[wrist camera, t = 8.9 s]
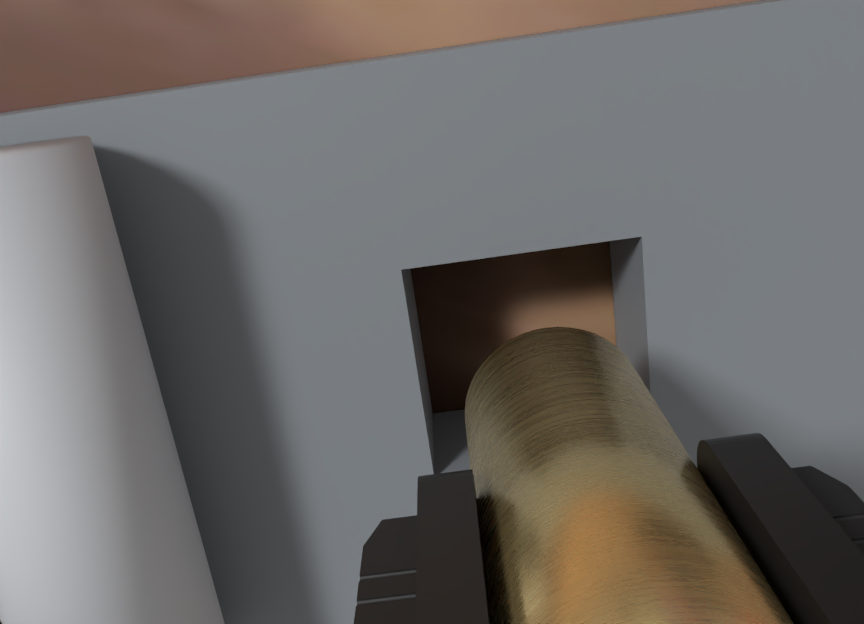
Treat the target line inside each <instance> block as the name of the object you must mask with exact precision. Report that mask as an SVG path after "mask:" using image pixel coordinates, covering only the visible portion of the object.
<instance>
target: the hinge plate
mask: <svg viewBox="0 0 864 624" xmlns="http://www.w3.org/2000/svg"><path fill="white" fill-rule="evenodd" d="M606 241H609V243H610V257H611V272H612V286H613V301H614V315H615V329H616V344H617V348H618V349H620V350H621V351H622V352H623V353H624V354H625V356H626V357H627V358H628V359H629V360H630V362H631V363H632V365H633V366H634V368H635V370H636V371H637V373H638V374H639V376H640V378H641V379H642V381H643V382H644V384H645V386H646V387H647V389H648V390H649V392H650V394H651V395H652V397H653V398H654V400H655V402H656V403H657V405H658V406H659V408H660V410H661V411H662V413H663V414H664V416H665V418H666V419H667V421H668V422H669V424H670V426H671V427H672V429H673V430H674V432H675V434H676V435H677V437H678V438H679V440H680V442H681V443H682V445H683V446H684V448H685V450H686V451H687V453H688V454H689V456H690V458H691V459H692V461H693V463H694V464H695V466H696V467H697V448H698V444H699V442H700V441H701V440H705V439H713V438H721V437H729V436H736V435H744V434H752V433H760V434H762V435H763V436H764V437H765V438H766V439H767V440H768V441H769V442H770V444H771V445H772V446H773V447H774V448H775V450H776V451H777V452H778V453H779V454H780V456H781V457H782V458H783V459H784V460H785V461H786V463H787V464H788V465H789V466H790V467H791V468H796V467H804V466H812V467H814V468H816V469H818V470H820V471H822V472H824V473H826V474H827V475H829V476H831V477H833V478H835V479H837V480H839V481H841V482H842V483H844V484H846V485H848V486H849V487H850V488H851V489H852V490H853V491H854V492H855V493H856V494H857V495H858V497H859V498H860V499H861V500H862V501H863V502H864V0H761V1H754V2H747V3H741V4H734V5H727V6H720V7H714V8H707V9H700V10H693V11H687V12H680V13H673V14H666V15H659V16H653V17H646V18H639V19H632V20H626V21H619V22H612V23H605V24H599V25H592V26H585V27H578V28H572V29H565V30H558V31H551V32H545V33H538V34H531V35H524V36H518V37H511V38H504V39H497V40H490V41H484V42H477V43H470V44H463V45H457V46H450V47H443V48H436V49H430V50H423V51H416V52H409V53H403V54H396V55H389V56H382V57H376V58H369V59H362V60H355V61H349V62H342V63H335V64H328V65H321V66H315V67H308V68H301V69H294V70H288V71H281V72H274V73H267V74H261V75H254V76H247V77H240V78H234V79H227V80H220V81H213V82H207V83H200V84H193V85H186V86H180V87H173V88H166V89H159V90H152V91H146V92H139V93H132V94H125V95H119V96H112V97H105V98H98V99H92V100H85V101H78V102H71V103H65V104H58V105H51V106H44V107H38V108H31V109H24V110H17V111H11V112H4V113H0V620H1V623H2V624H354V617H355V609H356V606H357V592H358V584H359V581H360V567H361V559H362V551H363V546H364V544H365V543H366V541H367V540H368V539H369V537H370V536H371V534H372V533H373V532H374V530H375V529H376V528H377V526H378V525H379V523H380V522H381V521H382V520H384V519H391V518H399V517H407V516H415V515H417V488H418V476H423V475H431V474H439V473H447V472H454V471H462V470H470V464H469V454H468V444H467V434H466V424H465V409H462V410H455V411H447V412H439V413H433V411H432V405H431V398H430V392H429V385H428V379H427V372H426V366H425V359H424V353H423V347H422V340H421V334H420V327H419V321H418V314H417V308H416V301H415V295H414V289H413V282H412V276H411V269H410V268H418V267H425V266H432V265H439V264H447V263H454V262H461V261H468V260H476V259H483V258H490V257H497V256H505V255H512V254H519V253H526V252H534V251H541V250H548V249H555V248H563V247H570V246H577V245H584V244H592V243H599V242H606Z"/></svg>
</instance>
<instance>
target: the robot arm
mask: <svg viewBox="0 0 864 624" xmlns="http://www.w3.org/2000/svg"><path fill="white" fill-rule="evenodd" d="M697 469H698V471H699V472H700V474H701V475H702V477H703V479H704V480H705V482H706V483H707V485H708V487H709V488H710V490H711V491H712V493H713V495H714V496H715V498H716V499H717V501H718V503H719V504H720V506H721V507H722V509H723V511H724V512H725V514H726V515H727V517H728V519H729V520H730V522H731V523H732V525H733V527H734V528H735V530H736V531H737V533H738V535H739V536H740V538H741V539H742V541H743V543H744V544H745V546H746V547H747V549H748V551H749V552H750V554H751V556H752V557H753V559H754V560H755V562H756V564H757V565H758V567H759V568H760V570H761V572H762V573H763V575H764V576H765V578H766V580H767V581H768V583H769V584H770V586H771V588H772V589H773V591H774V592H775V594H776V596H777V597H778V599H779V600H780V602H781V604H782V605H783V607H784V608H785V610H786V612H787V613H788V615H789V616H790V618H791V620H792V621H793V623H794V624H864V502H863V501H862V500H861V499H860V498H859V497H858V495H857V494H856V493H855V492H854V491H853V490H852V489H851V488H850V487H849V486H848V485H846V484H844V483H842V482H841V481H839V480H837V479H835V478H833V477H831V476H829V475H827V474H826V473H824V472H822V471H820V470H818V469H816V468H814V467H812V466H804V467H796V468H791V467H790V466H789V465H788V464H787V463H786V461H785V460H784V459H783V458H782V457H781V456H780V454H779V453H778V452H777V451H776V450H775V448H774V447H773V446H772V445H771V444H770V442H769V441H768V440H767V439H766V438H765V437H764V436H763V435H762V434H760V433H752V434H744V435H736V436H729V437H721V438H713V439H705V440H701V441H700V442H699V444H698V448H697ZM354 624H491V621H490V612H489V603H488V594H487V585H486V576H485V567H484V558H483V549H482V540H481V531H480V522H479V513H478V504H477V496H476V489H475V482H474V476H473V470H472V469H470V470H462V471H454V472H447V473H439V474H431V475H423V476H418V488H417V515H415V516H407V517H399V518H391V519H384V520H382V521H381V522H380V523H379V525H378V526H377V528H376V529H375V530H374V532H373V533H372V534H371V536H370V537H369V539H368V540H367V541H366V543H365V544H364V546H363V551H362V559H361V567H360V581H359V584H358V592H357V606H356V609H355V617H354Z"/></svg>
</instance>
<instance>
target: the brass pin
mask: <svg viewBox="0 0 864 624" xmlns="http://www.w3.org/2000/svg"><path fill="white" fill-rule="evenodd" d="M465 424H466V434H467V444H468V454H469V464H470V469H472V470H473V476H474V482H475V489H476V496H477V504H478V513H479V522H480V531H481V540H482V549H483V558H484V567H485V576H486V585H487V594H488V603H489V612H490V621H491V624H794V623H793V621H792V620H791V618H790V616H789V615H788V613H787V612H786V610H785V608H784V607H783V605H782V604H781V602H780V600H779V599H778V597H777V596H776V594H775V592H774V591H773V589H772V588H771V586H770V584H769V583H768V581H767V580H766V578H765V576H764V575H763V573H762V572H761V570H760V568H759V567H758V565H757V564H756V562H755V560H754V559H753V557H752V556H751V554H750V552H749V551H748V549H747V547H746V546H745V544H744V543H743V541H742V539H741V538H740V536H739V535H738V533H737V531H736V530H735V528H734V527H733V525H732V523H731V522H730V520H729V519H728V517H727V515H726V514H725V512H724V511H723V509H722V507H721V506H720V504H719V503H718V501H717V499H716V498H715V496H714V495H713V493H712V491H711V490H710V488H709V487H708V485H707V483H706V482H705V480H704V479H703V477H702V475H701V474H700V472H699V471H698V469H697V467H696V466H695V464H694V463H693V461H692V459H691V458H690V456H689V454H688V453H687V451H686V450H685V448H684V446H683V445H682V443H681V442H680V440H679V438H678V437H677V435H676V434H675V432H674V430H673V429H672V427H671V426H670V424H669V422H668V421H667V419H666V418H665V416H664V414H663V413H662V411H661V410H660V408H659V406H658V405H657V403H656V402H655V400H654V398H653V397H652V395H651V394H650V392H649V390H648V389H647V387H646V386H645V384H644V382H643V381H642V379H641V378H640V376H639V374H638V373H637V371H636V370H635V368H634V366H633V365H632V363H631V362H630V360H629V359H628V358H627V357H626V356H625V354H624V353H623V352H622V351H621V350H620V349H618V348H617V347H616V346H615V345H614V344H612V343H611V342H609V341H608V340H606V339H604V338H603V337H600V336H598V335H596V334H594V333H591V332H588V331H585V330H581V329H575V328H569V327H550V328H542V329H537V330H533V331H530V332H527V333H524V334H521V335H519V336H517V337H515V338H513V339H511V340H509V341H507V342H506V343H504V344H503V345H501V346H500V347H499V348H497V349H496V350H495V351H494V352H492V353H491V354H490V355H489V356H488V358H487V359H486V360H485V361H484V362H483V363H482V365H481V366H480V367H479V369H478V370H477V372H476V373H475V375H474V377H473V379H472V381H471V384H470V386H469V389H468V392H467V397H466V401H465Z"/></svg>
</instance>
